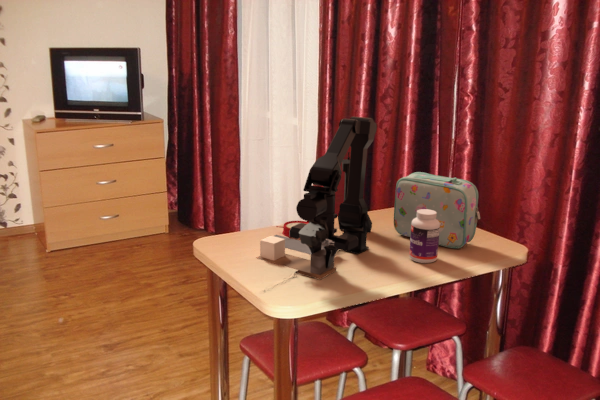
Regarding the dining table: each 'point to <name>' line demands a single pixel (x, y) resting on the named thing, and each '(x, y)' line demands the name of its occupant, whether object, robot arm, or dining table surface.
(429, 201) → the lunch box
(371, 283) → the dining table surface
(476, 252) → the dining table surface
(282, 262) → the walnut strip
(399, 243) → the dining table surface
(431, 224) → the pill bottle
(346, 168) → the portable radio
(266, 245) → the cream block
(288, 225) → the alarm clock
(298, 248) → the grey piece
